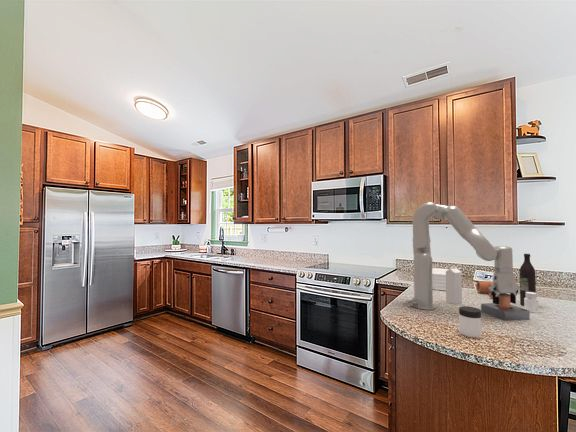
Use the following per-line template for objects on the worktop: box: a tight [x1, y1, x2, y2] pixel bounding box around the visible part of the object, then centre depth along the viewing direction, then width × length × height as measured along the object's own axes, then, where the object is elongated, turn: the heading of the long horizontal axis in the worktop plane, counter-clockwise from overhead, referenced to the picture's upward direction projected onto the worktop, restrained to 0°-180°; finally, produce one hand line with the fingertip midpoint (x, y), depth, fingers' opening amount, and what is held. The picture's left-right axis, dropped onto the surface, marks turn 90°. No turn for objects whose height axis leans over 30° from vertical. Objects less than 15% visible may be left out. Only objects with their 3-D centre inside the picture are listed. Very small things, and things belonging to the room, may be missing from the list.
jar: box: [458, 305, 483, 339], centre depth 120 cm, size 9×8×12 cm
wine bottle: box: [519, 253, 537, 306], centre depth 164 cm, size 7×7×30 cm
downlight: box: [523, 292, 541, 314], centre depth 153 cm, size 8×7×10 cm
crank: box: [476, 280, 497, 300], centre depth 188 cm, size 20×8×8 cm, turn 163°
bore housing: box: [480, 302, 531, 322], centre depth 145 cm, size 14×14×5 cm
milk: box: [445, 265, 463, 305], centre depth 170 cm, size 6×6×22 cm
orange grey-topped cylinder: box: [498, 293, 511, 309], centre depth 145 cm, size 5×5×11 cm
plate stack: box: [432, 267, 450, 292], centre depth 214 cm, size 28×28×12 cm
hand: (504, 303), depth 145 cm, fingers open, 9 cm apart
